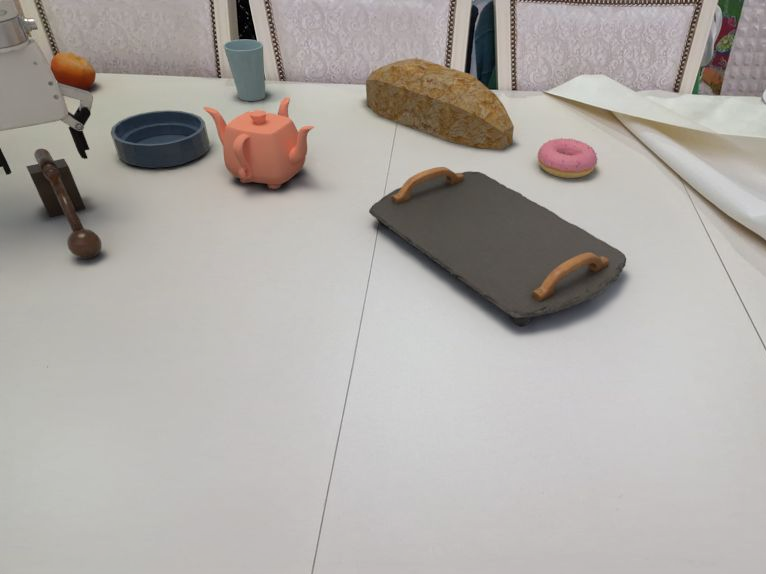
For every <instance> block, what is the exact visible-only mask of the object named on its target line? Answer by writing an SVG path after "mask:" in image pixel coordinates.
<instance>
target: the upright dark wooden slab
mask: <svg viewBox="0 0 766 574" xmlns="http://www.w3.org/2000/svg"><path fill="white" fill-rule="evenodd" d="M53 160H54V159H53ZM54 162H55V164H56V166H57V167H58V169H59V171H60V173H61V178H60V179H61V181H62V183H63V185H64V187H65V189H66V191H67V194H68V196H69V198H70V200H71V202H72V204H73V206H74V209H75V211H76V212H77V211H81V210H86V206H85V203H84V200H83V199H82V196H81V193H80V191H79V188H78V186H77V184H76V180H75V179H74V176H73V174H72V171H71V169H70V167H69V165H68V163H67V161H66V159H65V158H60V159H55V160H54ZM25 167H26V168H27V171H28V174H29V176H30V178H31V180H32V182H33V185H34V187H35V189H36V191H37V193H38V195H39V198H40V199H41V202H42V204H43V206H44V208H45V211H46V213H47V215H48V217H49V218H51V217H56V216H60V215H65V214H64V212H63V209H62V207H61V205H60V203H59V201H58V199H57V196H56V194H55V192H54V190H53V188H52V186H51V184H50V181H49V180H47V179H46V178H45V176H44V174H43V172H42V170H41V168H40V166H39V164H38V163H34V164H30V165H26V166H25Z"/></svg>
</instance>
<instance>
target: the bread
mask: <svg viewBox="0 0 766 574" xmlns="http://www.w3.org/2000/svg"><path fill="white" fill-rule="evenodd" d="M365 93H366V105H367V107H368V108H369V109H371V111H373V112H374V113H375V114H376V115H378V116H379V117H381V118H384V119H387V120H389V121H392V122H395V123H397V124H400V125H403V126H405V127H408V128H411V129H414V130H417V131H419V132H423V133H424V134H428V135H431V136H433V137H435V138H439V139H442V140H444V141H447V142H450V143H453V144H458V145H463V146H468V147H474V148H479V149H480V148H481V149H490V150H491V149H492V150H500V151H501V150H503V149H506V148H507V147H509V146H511V145H512V144H513V138H514V128H515V125H514V123H513V122H512V120H511V117H510V116H509V114H508V111H507V109H506V108H505V104H504V103H503V102H502V101H501V99H500V98H499V97H498V95H497V94H496V93H495V92H494V91H492V90H491V89H489V88H488V87H487V86H486V85H485V84H484V83H482V82H481V81H480V80H479V79H478V78H477V77H476V76H474V75H473V74H471V73H468V72H465V71H461V70H459V69H454V68H451V67H448V66H445V65H441V64H438V63H434V62H431V61H428V60H424V59H422V58H418V57H414V58H409V59H403V60H398V61H394V62H391V63H389V64H386V65H382V66H381V67H379V68H376V69H375V70H373V71H371V73H370V74H369V75H368V77H367V78H366V80H365Z"/></svg>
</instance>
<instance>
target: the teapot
mask: <svg viewBox="0 0 766 574" xmlns="http://www.w3.org/2000/svg"><path fill="white" fill-rule="evenodd" d="M290 101H291V98H290V97H285V98H283V99H282V100H281V101H280V104H279V107H278V112H277V114H276V113H271V112H266V111H264V110H261V109H257V110H252V111H246V112H244V113H242V114H240V115H238V116H237V117H235V118H234V119H232V120H231V121H229V122H228V123H227V122H226V121H225V118H224V117H223V115H222V114H221V113H220V112H219V111H218V110H216V109H215V108H213V107H209V106H203V110H204V111H205V112H207V113H208V114H209V115H210V117H211V118H212V120H213V121H214V124H215V127H216V130H217V135H218V139H219V140H220V143H221V144H222V151H223V152H222V153H223V161H224V165H225V168H226V169H227V170H228V172H229V173H230V174H231V175H232V176H233V177H236V178H238V179H239V181H240V183H243V184H245V183H246V184H247V183H252V182H253V183H258V184H267V187H268V188H269V189H279V188H281V187H282V184H284V183H286V182H288V181H289V180H291V179H292V178H293V177H294V176H295V175H297V174H298V173H300V171H301V170H302V169H303V167H304V164H305V162H306V156H307V154H308V134H309V132H310V131H312V130H313V129H314V128H315V126H313V125H304V126H301V127H300V128H299V130H298V129H297V127H296V125H295V122H294V121H293V119H292V118H290V116H289V104H290Z"/></svg>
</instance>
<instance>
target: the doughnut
mask: <svg viewBox="0 0 766 574" xmlns="http://www.w3.org/2000/svg"><path fill="white" fill-rule="evenodd" d="M536 157H537V160H538V164H539V166H540V167H541V169H542V170H543V171H545V172H546V173H548V174H550V175H552V176H555V177H559V178H563V179H577V178H583V177H585V176H587V175H589V174H591V172H593V171H594V169H595V167H596V165H597V163H598V156H597V153H596V151H595V150H594V148H593V146H590V145H589V144H588V143H585V142H584V141H580V140H577V139H573V138H562V137H561V138H554V139H551V140H548V141H547V142H544V143H543V144H542V145H541V146H540V148H539V150H538V151H537V156H536Z"/></svg>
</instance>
